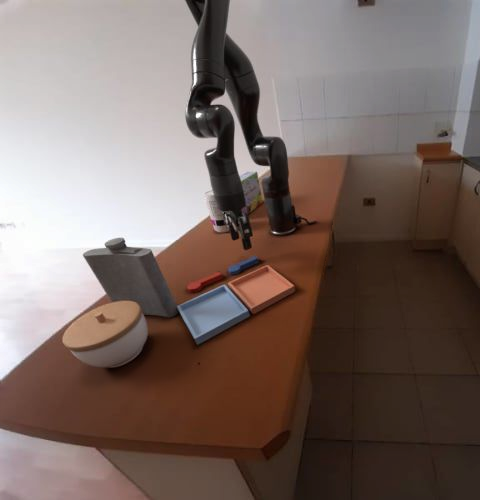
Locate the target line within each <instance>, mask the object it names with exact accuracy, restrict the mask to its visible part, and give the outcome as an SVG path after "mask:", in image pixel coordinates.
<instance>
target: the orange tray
mask: <svg viewBox="0 0 480 500" xmlns="http://www.w3.org/2000/svg"><path fill="white" fill-rule="evenodd" d="M227 286H228V288H229V290H230V291H231V292H232V293H233V294H234V295H235V296H236V297H237V298H238V300H239V301H240V302H241V303H242V304H243V305H244V306H245V307H246V309H247V310H248V312H249V313H251V314H252V315H255V314H257V313H258V312H261V311H263V310H265V309H266V308H267V307H270V306H271V305H273V304H275V303H277V302H279V301H281V300H282V299H284V298H286V297H288V296H290V295H291V294H293V293H295V292H296V286H295V285H294V284H293V283H292V282H290V281H289V280H288V279H287V278H285V277H284V276H283V275H282V274H280V272H278V271H276V269H274V268H272V267H271V266H270V265H268V264H265V265H264V266H262V267H259V268H258V269H255V270H253V271H251V272H249V273H246V274H244V275H242V276H240V277H238V278H236V279H233V280H231V281H229V282H227Z"/></svg>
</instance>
